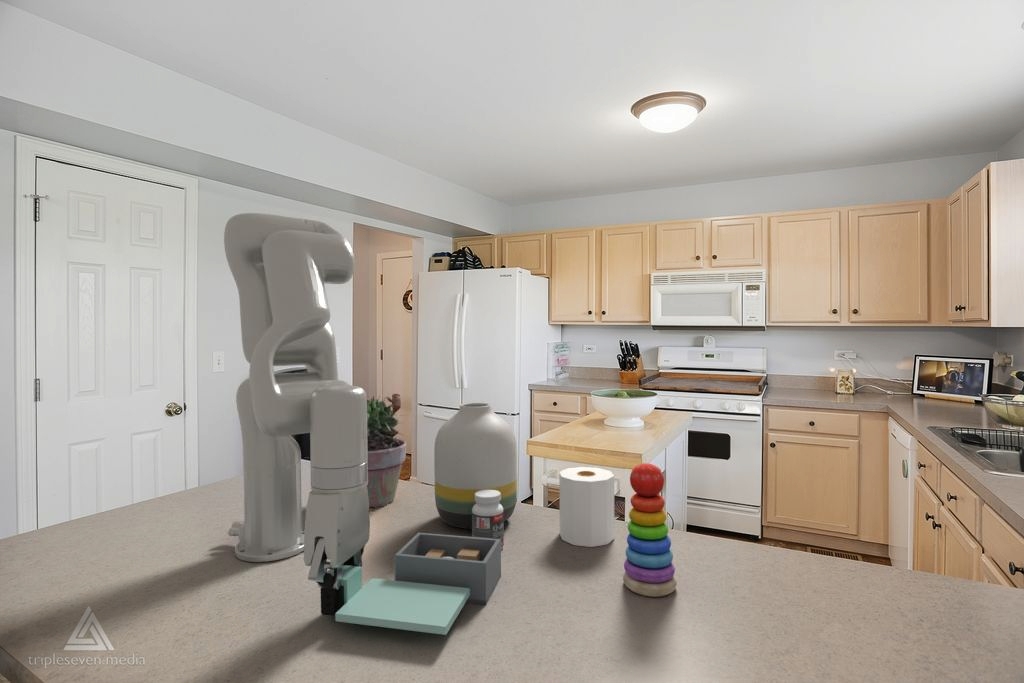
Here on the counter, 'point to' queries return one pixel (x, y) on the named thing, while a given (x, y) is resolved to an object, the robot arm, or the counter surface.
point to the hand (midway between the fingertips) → (341, 605)
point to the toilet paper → (586, 506)
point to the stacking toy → (648, 536)
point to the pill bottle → (488, 516)
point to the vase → (474, 463)
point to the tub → (452, 563)
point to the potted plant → (383, 451)
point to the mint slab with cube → (399, 603)
